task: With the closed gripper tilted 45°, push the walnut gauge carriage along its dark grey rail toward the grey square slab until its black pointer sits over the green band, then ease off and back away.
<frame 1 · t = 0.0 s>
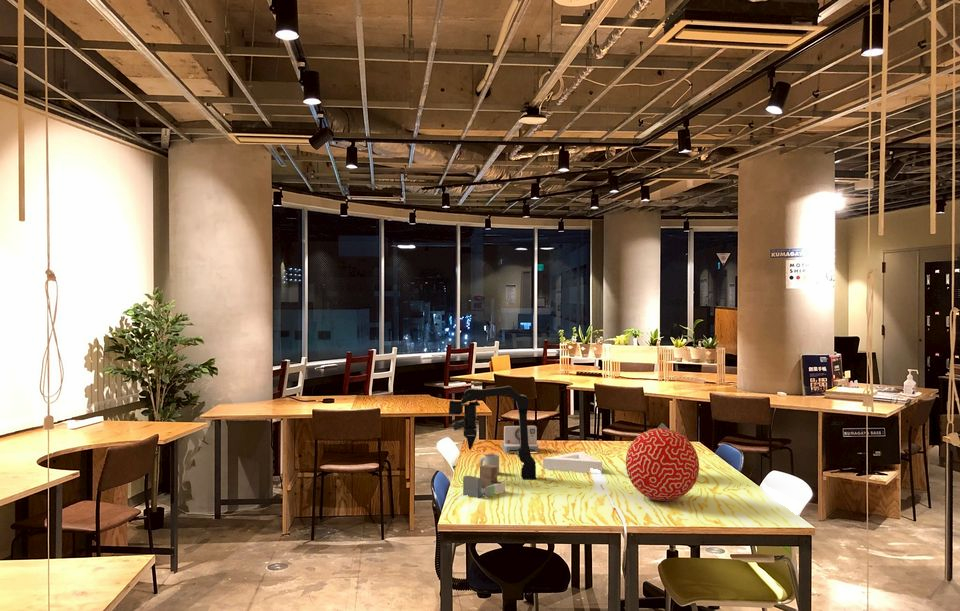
hand: (470, 447, 343), 15 cm above the table, tool pointing down, fingers open, 9 cm apart
ball: (662, 500, 301), on the table
gauge base: (488, 490, 317), on the table
cup: (489, 473, 354), on the table
bible: (651, 477, 348), on the table
gauge carriage: (493, 477, 316), point 6 cm above the table, slide at 0.0 cm
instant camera: (519, 451, 415), on the table
grey square slab: (472, 486, 308), on the table
triangular ruler: (577, 468, 370), on the table
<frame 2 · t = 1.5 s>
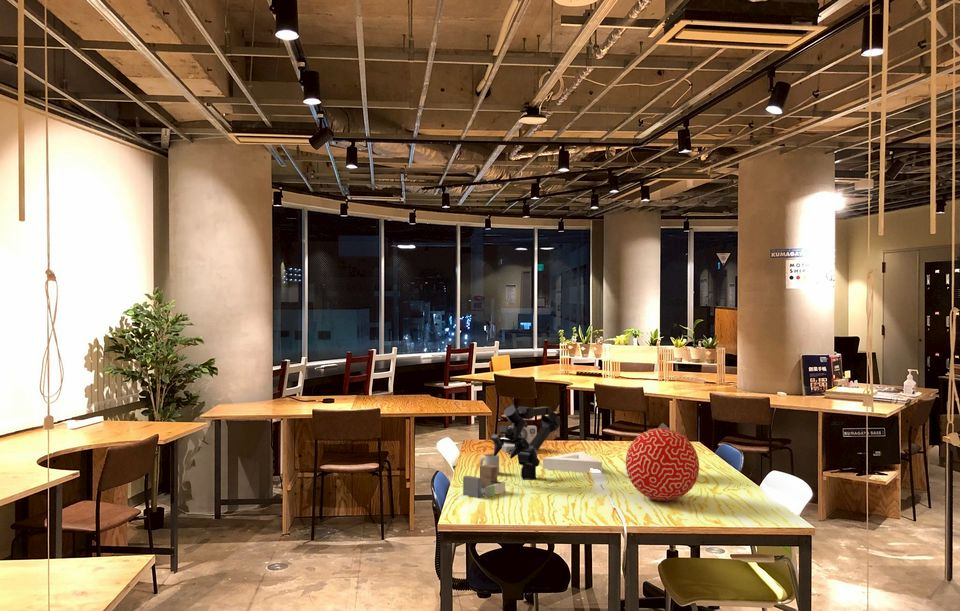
hand: (502, 456, 326), 13 cm above the table, tool tilted 45°, fingers open, 9 cm apart
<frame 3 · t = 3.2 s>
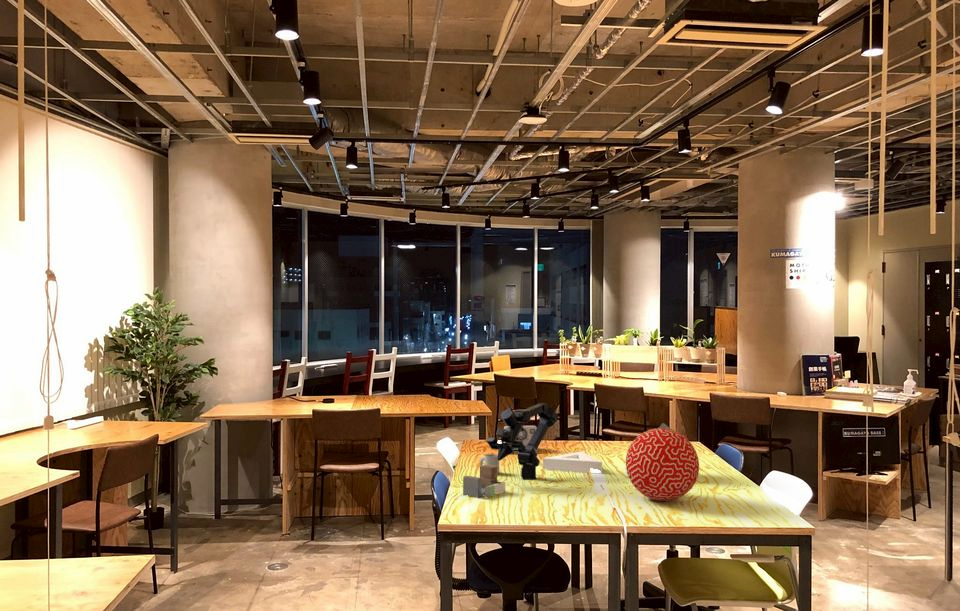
hand: (498, 460, 323), 12 cm above the table, tool tilted 45°, fingers closed
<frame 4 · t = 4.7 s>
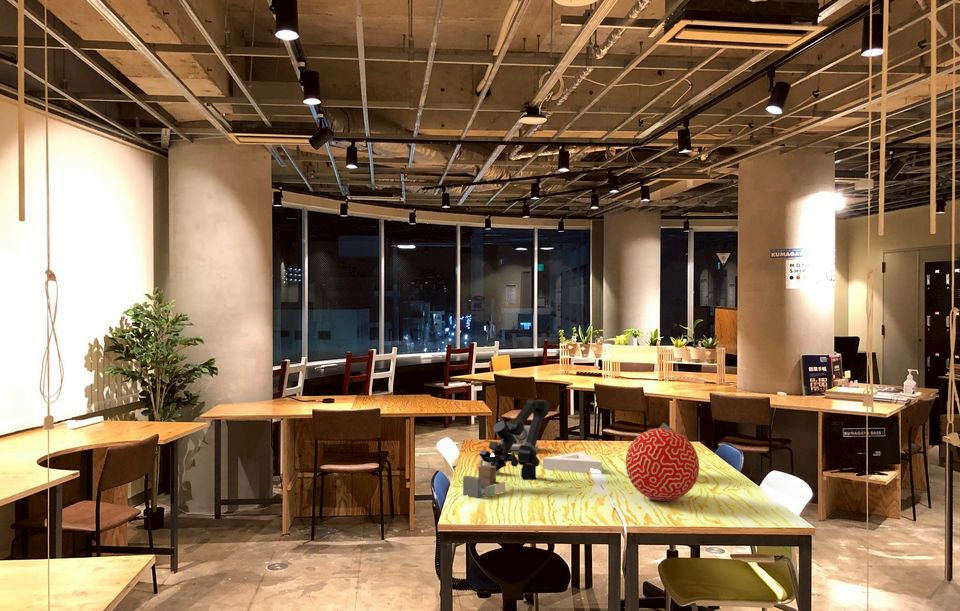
hand: (491, 473, 319), 7 cm above the table, tool tilted 45°, fingers closed, pressing on gauge carriage
gauge carriage: (491, 477, 315), point 6 cm above the table, slide at 1.0 cm, touching gripper
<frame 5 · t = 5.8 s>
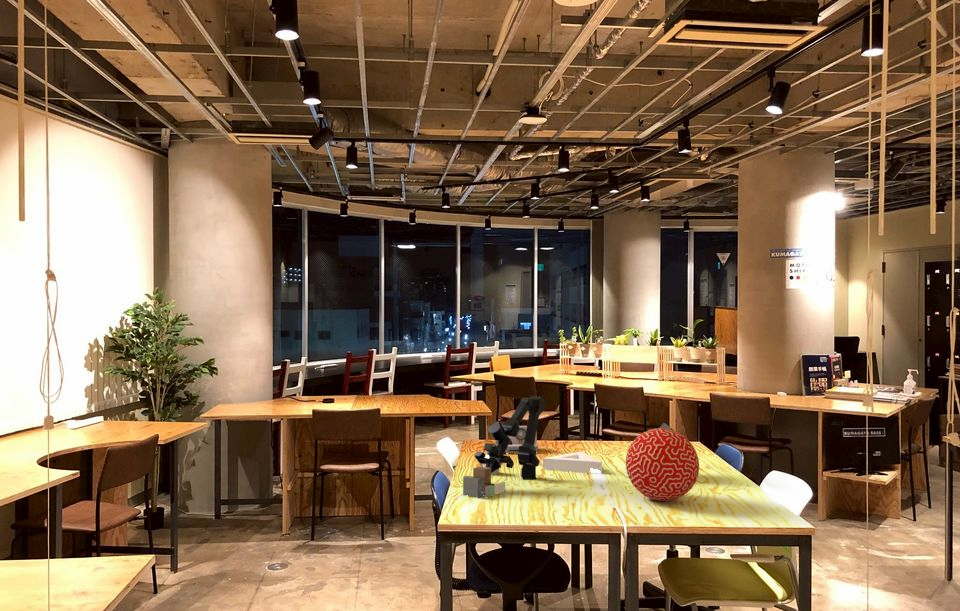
hand: (486, 475, 316), 7 cm above the table, tool tilted 45°, fingers closed, pressing on gauge carriage
gauge carriage: (486, 479, 312), point 6 cm above the table, slide at 4.7 cm, touching gripper
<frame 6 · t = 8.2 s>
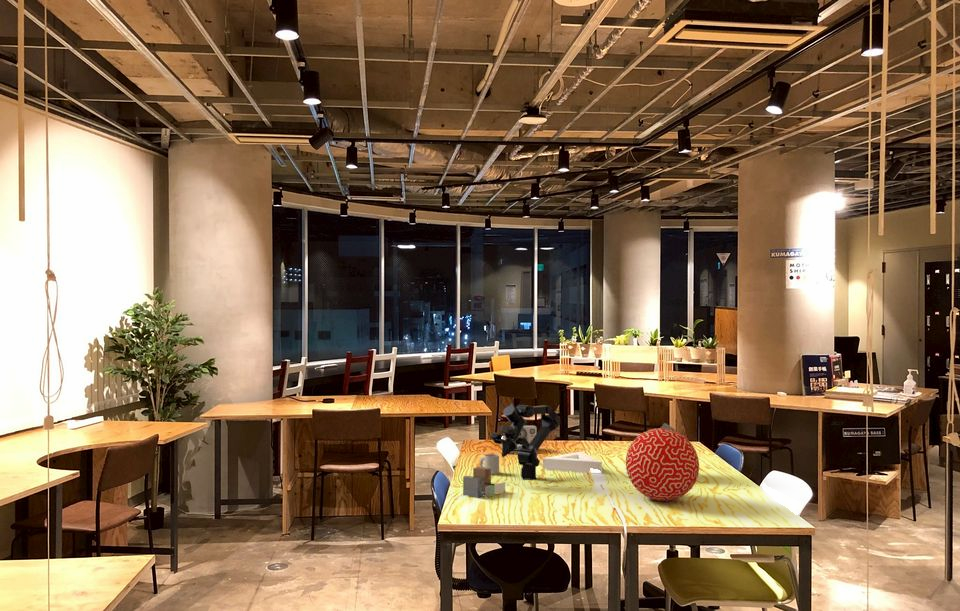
hand: (502, 456, 327), 13 cm above the table, tool tilted 40°, fingers closed
gauge carriage: (486, 479, 312), point 6 cm above the table, slide at 4.7 cm
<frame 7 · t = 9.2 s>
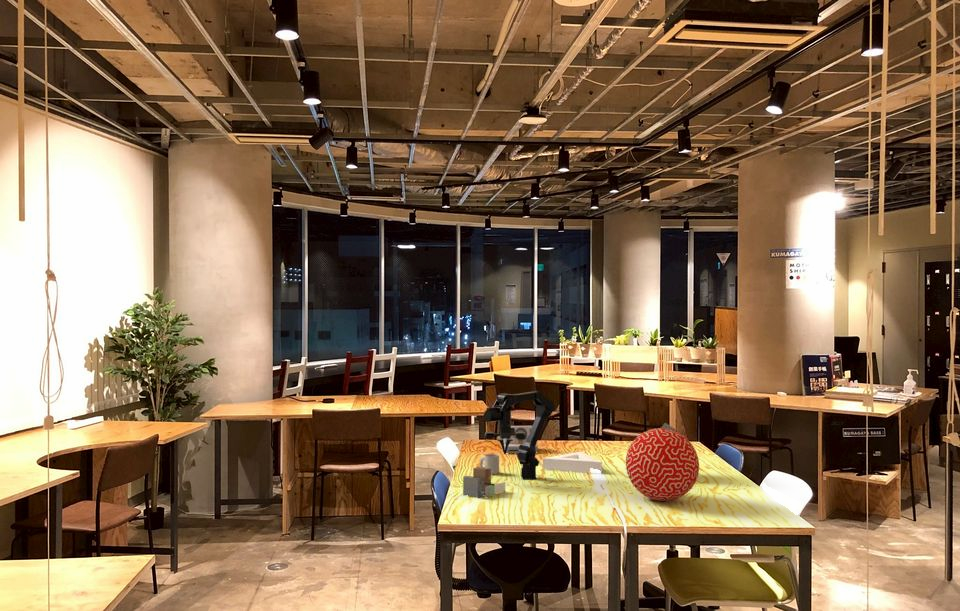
hand: (504, 454, 335), 13 cm above the table, tool pointing down, fingers closed
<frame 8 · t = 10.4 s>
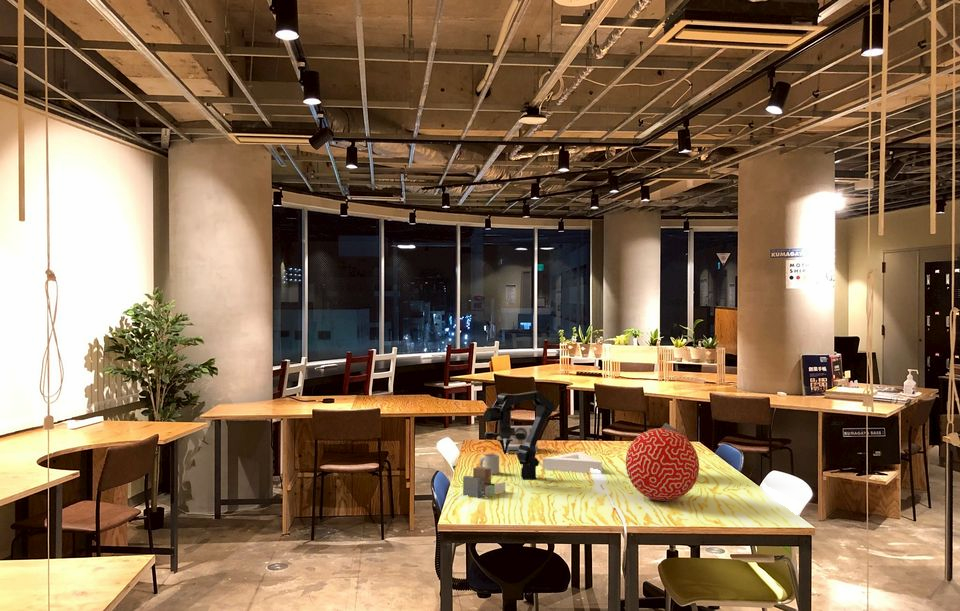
hand: (504, 454, 335), 13 cm above the table, tool pointing down, fingers closed
at the end: gauge carriage slide at 4.7 cm; the gripper is holding nothing; cup moved 0.2 cm from its start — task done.
